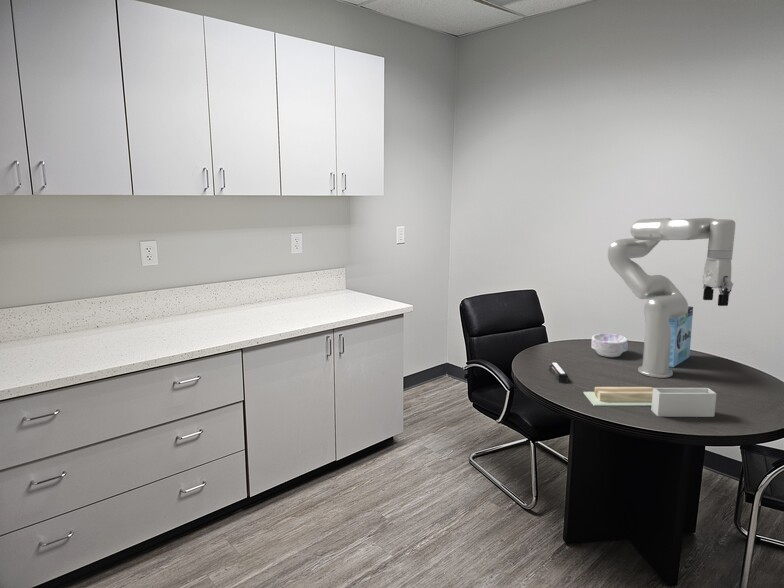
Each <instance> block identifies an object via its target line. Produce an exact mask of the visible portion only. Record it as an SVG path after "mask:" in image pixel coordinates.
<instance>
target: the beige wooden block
mask: <svg viewBox="0 0 784 588" xmlns="http://www.w3.org/2000/svg"><path fill="white" fill-rule="evenodd" d="M653 388H654V387H652V386H595V387H594V392H595V393H594V395H595V396H596V397H597V398H598V400H599V401H652V394H653Z"/></svg>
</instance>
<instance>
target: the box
mask: <svg viewBox="0 0 784 588" xmlns="http://www.w3.org/2000/svg"><path fill="white" fill-rule="evenodd" d="M652 388H653V394H652V406H650V407H651V409H650V410H651V412H652V413H653V414H655V416H656V417H678V418H679V417H681V418H682V417H686V418H687V417H690V418H691V417H693V418H695V417H696V418H697V417H704V418H705V417H707V418H708V417H709V418H710V417H715V415H716V414H715V413H716V403H717V402H716V401H717V393H716V392H715V391H714V390H712V389H710V388H709V387H652Z"/></svg>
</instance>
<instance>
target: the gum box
mask: <svg viewBox="0 0 784 588" xmlns="http://www.w3.org/2000/svg"><path fill="white" fill-rule="evenodd" d="M693 313H694V307H693V306H689V305H688V311H687V313H686V314H685V315H684V316H682V317H678V318H673V319H669V324H670V326H671V330H672V334H671V348H670V360H669V368H675V367H676V366H678V365H679V364H681V363H683V362H684V361H685V360H687V359H689V358H690V356H691V355H690V353H691V342H692V340H691V339H692V327H693V318H694V317H693V316H694V314H693Z"/></svg>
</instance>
